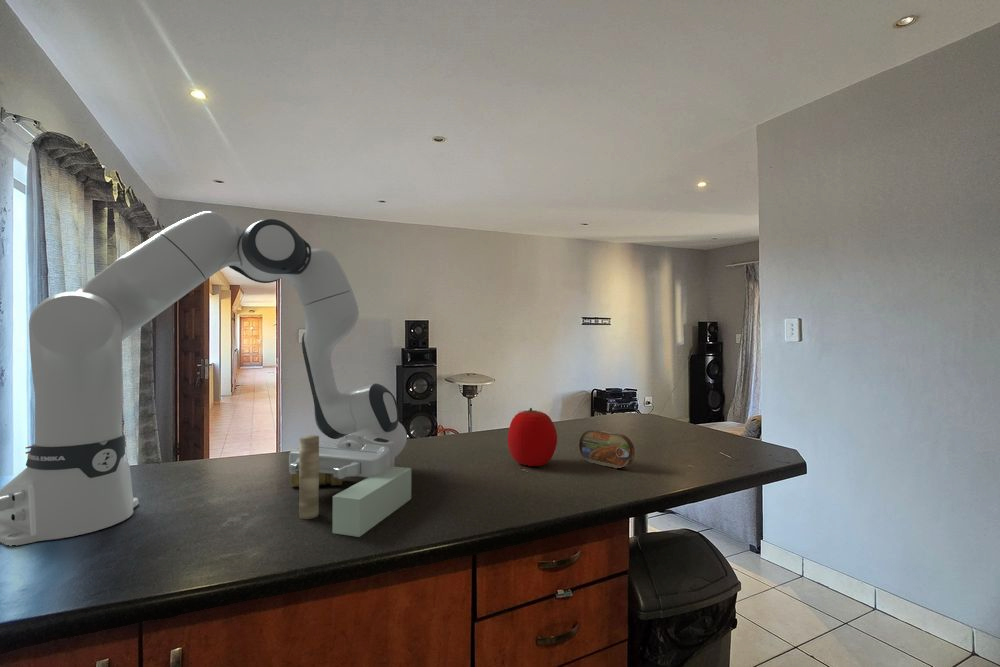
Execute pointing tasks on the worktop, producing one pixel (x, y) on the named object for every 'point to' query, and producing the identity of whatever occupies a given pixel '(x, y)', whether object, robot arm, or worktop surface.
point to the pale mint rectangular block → (370, 501)
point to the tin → (607, 447)
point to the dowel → (309, 477)
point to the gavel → (323, 479)
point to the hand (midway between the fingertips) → (314, 471)
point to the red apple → (532, 438)
